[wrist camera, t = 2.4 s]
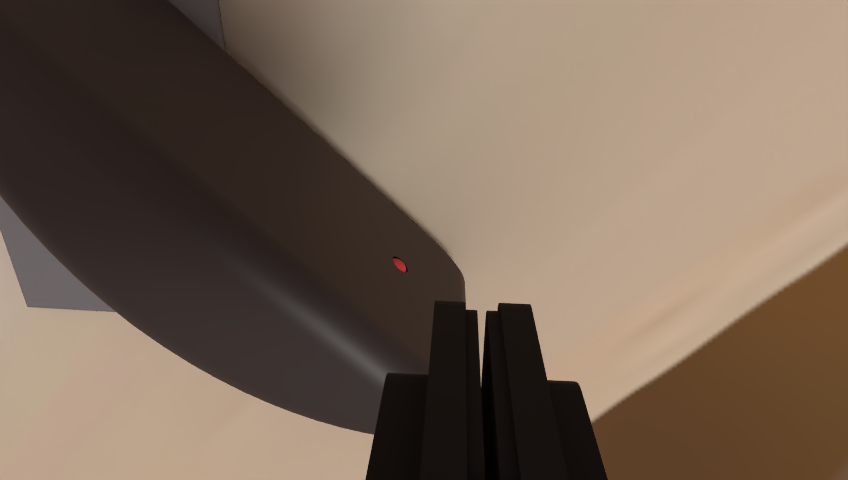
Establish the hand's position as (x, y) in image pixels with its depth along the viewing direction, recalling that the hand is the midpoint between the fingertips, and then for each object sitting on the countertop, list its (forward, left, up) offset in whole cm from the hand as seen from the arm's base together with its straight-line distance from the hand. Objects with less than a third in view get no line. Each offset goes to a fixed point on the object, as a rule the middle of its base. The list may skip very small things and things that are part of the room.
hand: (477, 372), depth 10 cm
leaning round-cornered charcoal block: (+6, 0, -13) cm, 14 cm away
